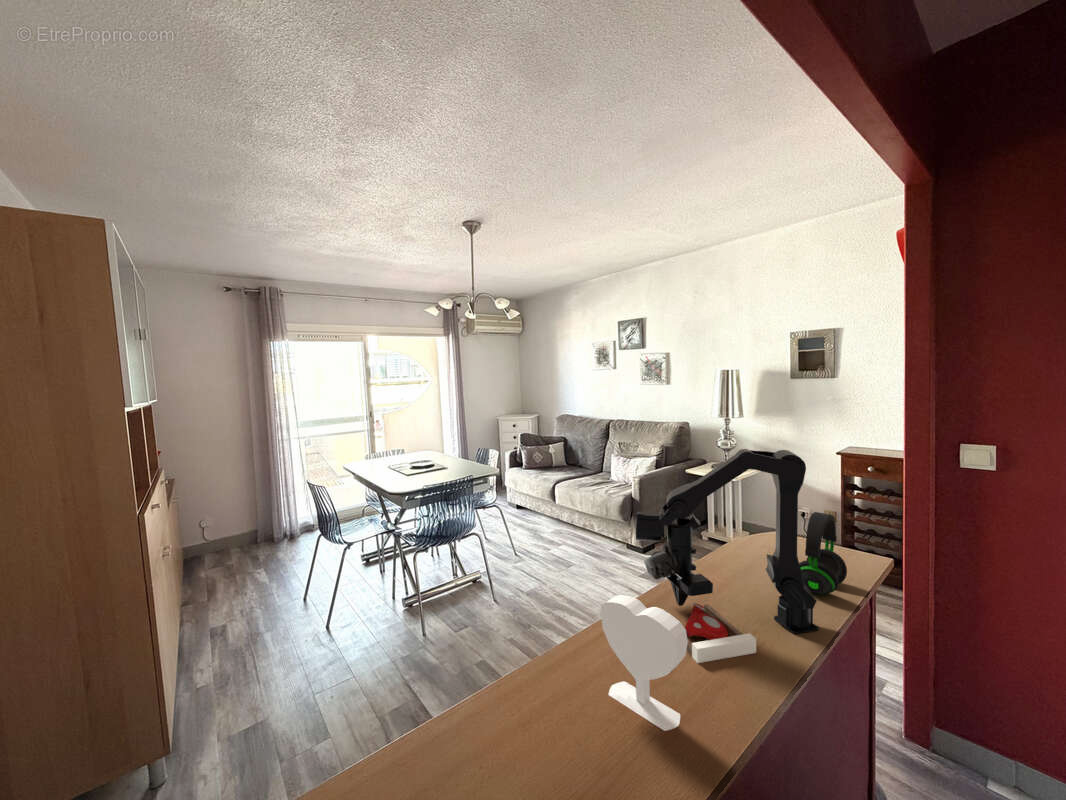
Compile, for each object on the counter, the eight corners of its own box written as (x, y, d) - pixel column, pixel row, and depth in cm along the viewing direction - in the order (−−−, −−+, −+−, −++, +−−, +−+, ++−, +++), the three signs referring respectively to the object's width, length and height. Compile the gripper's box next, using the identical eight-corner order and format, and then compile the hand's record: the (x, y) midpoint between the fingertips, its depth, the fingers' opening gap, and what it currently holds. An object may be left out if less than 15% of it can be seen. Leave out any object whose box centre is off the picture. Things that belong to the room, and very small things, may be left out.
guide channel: (708, 610, 108) (708, 598, 108) (756, 652, 92) (756, 638, 92) (657, 617, 106) (657, 605, 106) (697, 663, 89) (697, 648, 89)
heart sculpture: (691, 720, 75) (689, 617, 74) (675, 737, 71) (673, 630, 70) (616, 676, 86) (613, 586, 85) (599, 689, 83) (597, 596, 82)
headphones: (850, 584, 118) (851, 511, 117) (833, 606, 108) (833, 526, 107) (810, 573, 125) (811, 503, 124) (790, 592, 115) (790, 517, 114)
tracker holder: (739, 633, 97) (706, 635, 93) (732, 650, 98) (699, 653, 94) (700, 596, 108) (669, 596, 104) (694, 612, 109) (663, 613, 104)
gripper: (632, 532, 115) (633, 591, 116) (668, 562, 96) (669, 631, 97) (671, 528, 117) (672, 585, 118) (714, 556, 99) (714, 624, 100)
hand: (680, 605), depth 108 cm, fingers closed
